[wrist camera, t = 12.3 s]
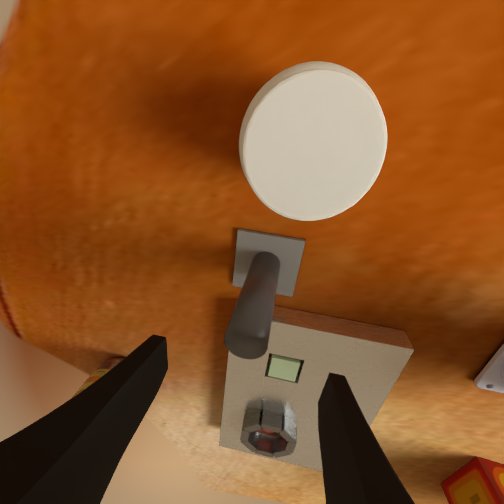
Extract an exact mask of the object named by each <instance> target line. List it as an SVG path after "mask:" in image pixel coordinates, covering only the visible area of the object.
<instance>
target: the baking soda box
mask: <svg viewBox="0 0 504 504" xmlns="http://www.w3.org/2000/svg"><path fill="white" fill-rule="evenodd" d="M441 486H442V488H443V490H444V493H445V495H446V498H447V500H448V503H449V504H504V465H503V464H500V463H497V462H493V461H490V460H487V459H484V458H480V457H475V458H474V459H473V460H471V461H470V462H469V463H467V464H466V465H465V466H463V467H462V468H461V469H459V470H458V471H457V472H455V473H454V474H453V475H451V476H450V477H448V478H447V479H446V480H444V481H443V482H442V483H441Z"/></svg>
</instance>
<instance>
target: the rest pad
mask: <svg viewBox="0 0 504 504" xmlns="http://www.w3.org/2000/svg"><path fill="white" fill-rule="evenodd" d="M304 245H305V239H300V238H294V237H288V236H282V235H276V234H270V233H264V232H258V231H253V230H247V229H241V228H239V229H238V232H237V243H236V253H235V264H234V274H233V285H232V286H237V287H243V285H244V282H245V279H246V276H247V274H248V271H249V268H250V266H251V263H252V260H253V258H254V256H255V255H256V254H258V253H260V252H270V253H273V254H274V255H276V256H277V257H278V259H279V261H280V271H279V278H278V284H277V291H276V294H279V295H284V296H290V297H292V296H293V292H294V288H295V284H296V279H297V275H298V271H299V267H300V262H301V258H302V254H303V249H304Z"/></svg>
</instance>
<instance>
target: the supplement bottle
mask: <svg viewBox="0 0 504 504" xmlns="http://www.w3.org/2000/svg"><path fill="white" fill-rule="evenodd" d="M386 148H387V127H386V121H385V117H384V114H383V112H382V109H381V107H380V105H379V102H378V100H377V98H376V96H375V94H374V93H373V91H372V90H371V88H370V87H369V86H368V84H367V83H366V82H365V81H364V80H363V79H362V78H361V77H360V76H359V75H357V74H356V73H354V72H353V71H351V70H349V69H347V68H345V67H343V66H340V65H337V64H334V63H330V62H321V61H313V62H305V63H301V64H298V65H294V66H292V67H289V68H287V69H285V70H283V71H281V72H280V73H278V74H277V75H275V76H274V77H273V78H272V79H270V80H269V81H268V82H267V83H266V84H265V85H264V86H263V87H262V88H261V89H260V90H259V91H258V92H257V94H256V95H255V97H254V98H253V100H252V101H251V103H250V105H249V107H248V109H247V111H246V113H245V116H244V118H243V122H242V125H241V130H240V137H239V155H240V161H241V166H242V169H243V173H244V175H245V177H246V179H247V181H248V183H249V185H250V186H251V188H252V190H253V191H254V193H255V194H256V196H257V197H258V198H259V199H260V200H261V202H263V203H264V204H265V205H266V206H267V207H268V208H270V209H271V210H273V211H274V212H276V213H278V214H280V215H282V216H284V217H287V218H291V219H295V220H302V221H314V220H321V219H325V218H329V217H332V216H335V215H337V214H339V213H341V212H343V211H345V210H346V209H348V208H350V207H351V206H353V205H354V204H355V203H356V202H358V201H359V200H360V199H361V198H362V197H363V196H364V195H365V194H366V192H367V191H368V190H369V189H370V188H371V186H372V185H373V183H374V182H375V180H376V178H377V176H378V174H379V172H380V170H381V167H382V165H383V161H384V158H385V154H386Z"/></svg>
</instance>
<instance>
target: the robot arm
mask: <svg viewBox="0 0 504 504" xmlns="http://www.w3.org/2000/svg"><path fill="white" fill-rule="evenodd" d="M167 370H168V360H167V343H166V337H162V336H157V335H152V336H150V337H149V338H148V339H147V340H146V341H145V342H143V343H142V344H141V345H140V346H139V347H138V348H136V349H135V350H134V351H133V352H132V353H130V354H129V355H128V356H127V357H126V358H124V359H123V360H122V361H121V362H119V363H118V364H117V365H116V366H114V367H113V368H112V369H111V370H109V371H108V372H107V373H106V374H104V375H103V376H102V377H100V378H99V379H98V380H96V381H95V382H94V383H92V384H91V385H90V386H88V387H87V388H86V389H84V390H83V391H82V392H80V393H79V394H77V395H76V396H74V397H73V398H72V399H70V400H69V401H67V402H66V403H64V404H63V405H61V406H60V407H58V408H57V409H55V410H54V411H52V412H50V413H49V414H47V415H46V416H44V417H42V418H41V419H39V420H38V421H36V422H34V423H33V424H31V425H29V426H28V427H26V428H24V429H23V430H21V431H19V432H18V433H16V434H14V435H12V436H11V437H9V438H7V439H5V440H3V441H2V442H0V504H100V502H101V500H102V498H103V495H104V493H105V491H106V489H107V486H108V485H109V483H110V480H111V478H112V476H113V474H114V472H115V470H116V467H117V465H118V463H119V461H120V459H121V457H122V455H123V453H124V451H125V450H126V448H127V446H128V444H129V442H130V440H131V439H132V437H133V435H134V433H135V432H136V430H137V428H138V426H139V425H140V423H141V421H142V419H143V418H144V416H145V414H146V412H147V411H148V409H149V407H150V405H151V403H152V402H153V400H154V398H155V396H156V394H157V392H158V390H159V388H160V386H161V384H162V381H163V379H164V377H165V374H166V372H167ZM474 383H475V385H476V386H477V387H478V388H482V389H487V390H491V391H496V392H501V393H504V344H503V345H502V346H501V347H500V349H499V350H498V351H497V352H496V354H495V355H494V356H493V357H492V359H491V360H490V361H489V362H488V364H487V365H486V366H485V367H484V369H483V370H482V371H481V372H480V374H479V375H478V376H477V377H476V379H475V380H474ZM318 432H319V442H320V451H321V460H322V469H323V478H324V487H325V495H326V504H415V503H414V502H413V500H412V498H411V497H410V495H409V494H408V492H407V491H406V489H405V488H404V486H403V484H402V483H401V481H400V479H399V478H398V476H397V474H396V473H395V471H394V470H393V468H392V466H391V464H390V463H389V461H388V459H387V457H386V456H385V454H384V452H383V451H382V449H381V447H380V445H379V443H378V442H377V440H376V438H375V436H374V434H373V432H372V430H371V428H370V427H369V425H368V423H367V421H366V419H365V417H364V415H363V413H362V411H361V409H360V407H359V405H358V403H357V401H356V399H355V396H354V394H353V392H352V390H351V388H350V386H349V384H348V381H347V379H346V377H345V376H344V375H339V374H335V373H330V372H329V375H328V377H327V380H326V383H325V385H324V388H323V390H322V393H321V396H320V398H319V401H318Z"/></svg>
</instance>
